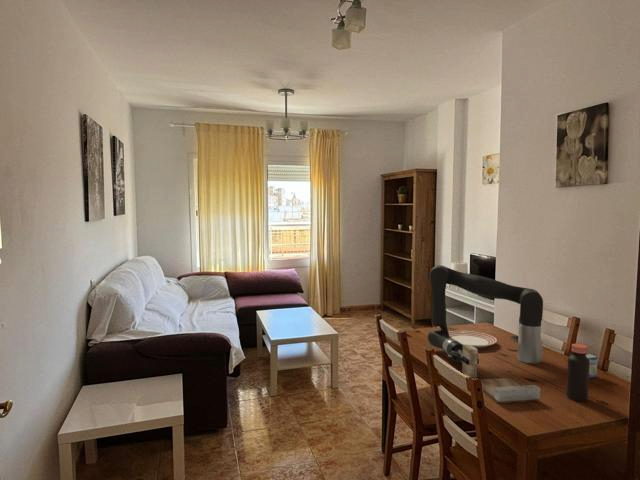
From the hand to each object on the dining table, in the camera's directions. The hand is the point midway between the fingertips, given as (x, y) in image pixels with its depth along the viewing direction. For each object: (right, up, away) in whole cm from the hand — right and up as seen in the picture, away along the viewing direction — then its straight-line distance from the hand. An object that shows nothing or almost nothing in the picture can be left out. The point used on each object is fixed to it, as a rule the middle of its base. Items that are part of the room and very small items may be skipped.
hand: (473, 362), depth 171 cm
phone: (+45, -4, +47) cm, 65 cm away
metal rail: (+8, -7, -21) cm, 24 cm away
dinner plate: (+15, -4, +46) cm, 48 cm away
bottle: (+32, -8, -18) cm, 38 cm away
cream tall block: (0, -6, +3) cm, 7 cm away
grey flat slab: (+7, -7, -13) cm, 16 cm away
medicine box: (+48, -7, +2) cm, 49 cm away
